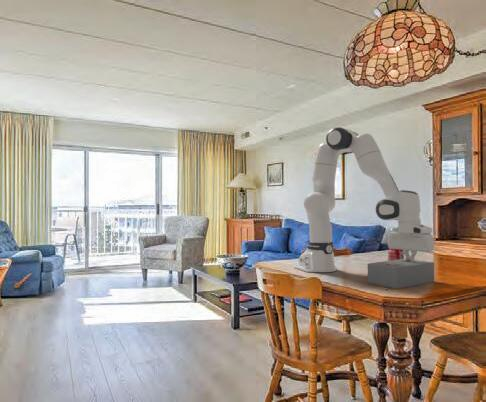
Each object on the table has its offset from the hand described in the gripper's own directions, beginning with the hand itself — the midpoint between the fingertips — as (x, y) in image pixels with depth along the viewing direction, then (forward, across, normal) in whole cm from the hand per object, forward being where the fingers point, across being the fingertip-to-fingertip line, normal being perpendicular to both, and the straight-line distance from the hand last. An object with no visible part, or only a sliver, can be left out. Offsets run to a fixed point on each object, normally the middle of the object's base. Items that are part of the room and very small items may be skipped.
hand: (410, 260), depth 163 cm
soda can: (+9, -14, +9) cm, 19 cm away
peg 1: (+8, 0, -12) cm, 14 cm away
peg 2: (+8, 0, 0) cm, 8 cm away
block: (+8, 0, -6) cm, 10 cm away
